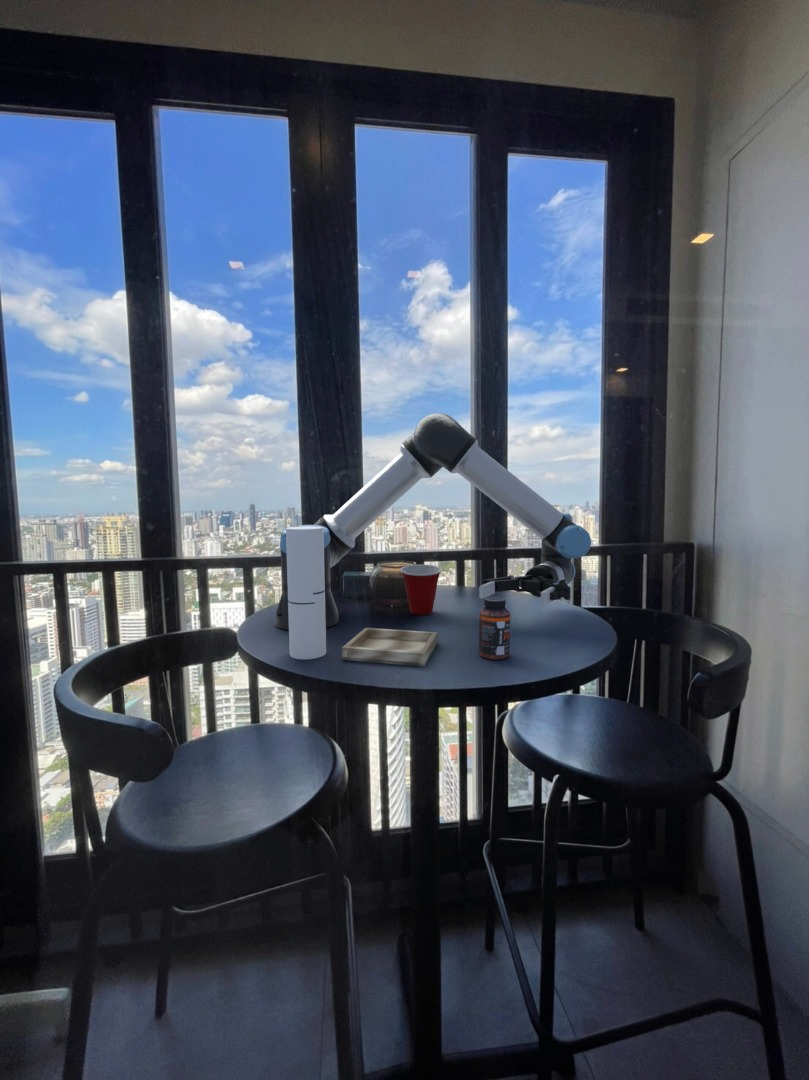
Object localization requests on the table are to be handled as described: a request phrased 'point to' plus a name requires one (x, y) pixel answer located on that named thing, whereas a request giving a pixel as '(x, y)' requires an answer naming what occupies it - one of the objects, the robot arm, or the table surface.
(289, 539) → the cylindrical container
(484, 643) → the supplement bottle
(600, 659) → the table surface
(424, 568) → the plastic cup
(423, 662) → the tray
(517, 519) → the robot arm
